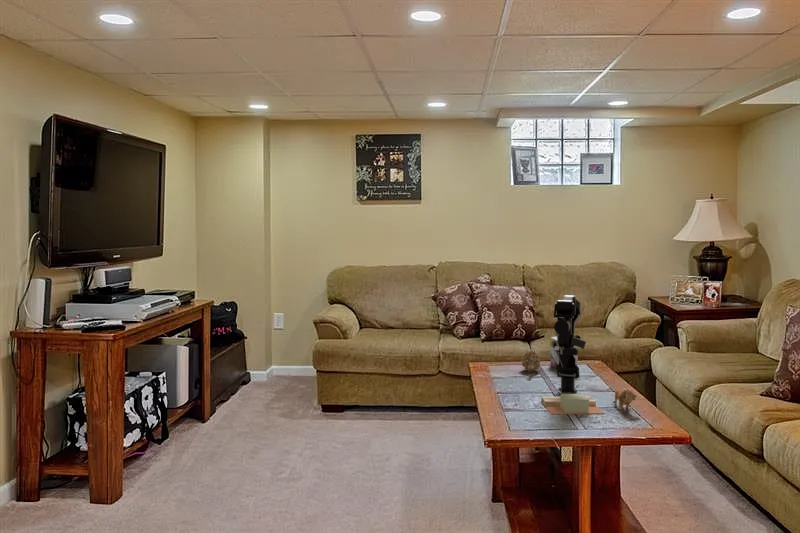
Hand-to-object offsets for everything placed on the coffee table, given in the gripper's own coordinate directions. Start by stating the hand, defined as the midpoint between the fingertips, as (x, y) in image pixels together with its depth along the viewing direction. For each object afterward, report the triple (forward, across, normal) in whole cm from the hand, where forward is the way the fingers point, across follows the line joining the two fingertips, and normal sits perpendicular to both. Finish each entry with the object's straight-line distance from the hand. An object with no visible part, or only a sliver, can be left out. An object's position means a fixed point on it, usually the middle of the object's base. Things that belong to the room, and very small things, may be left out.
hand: (564, 368), depth 250 cm
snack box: (+13, +52, -13) cm, 55 cm away
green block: (+10, -11, 0) cm, 15 cm away
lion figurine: (+13, -14, -19) cm, 27 cm away
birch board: (+13, -6, 0) cm, 15 cm away
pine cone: (+13, +46, +4) cm, 48 cm away
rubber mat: (+13, -15, 0) cm, 20 cm away
